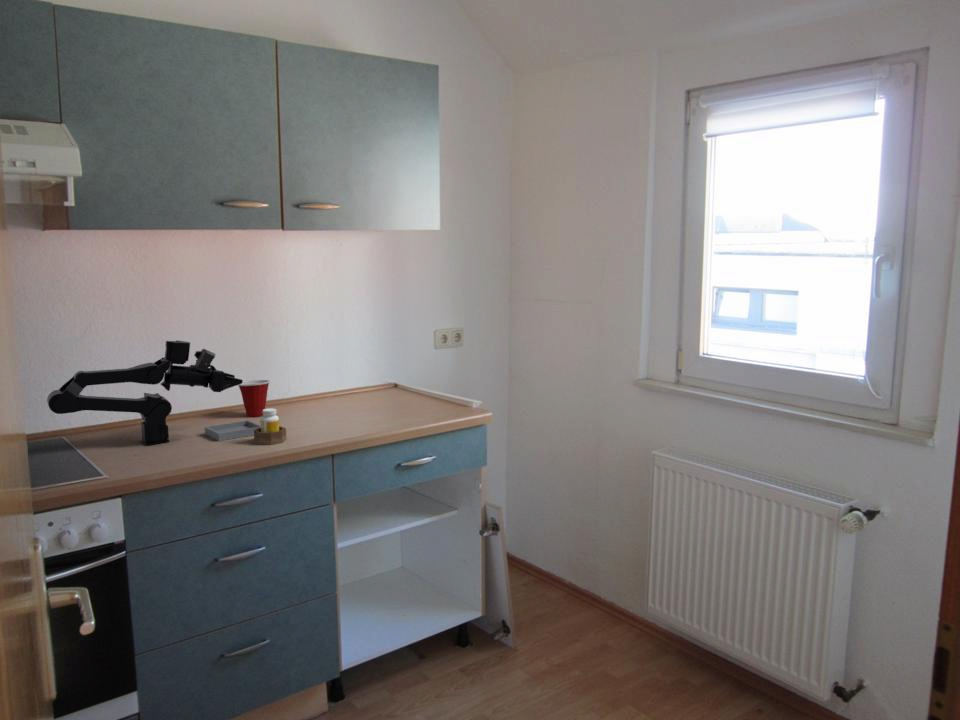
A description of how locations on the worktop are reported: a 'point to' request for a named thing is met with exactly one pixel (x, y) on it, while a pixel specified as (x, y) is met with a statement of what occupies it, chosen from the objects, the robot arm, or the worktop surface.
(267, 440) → the cup holder
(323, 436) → the worktop surface
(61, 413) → the robot arm
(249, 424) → the tray
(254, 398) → the plastic cup
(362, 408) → the worktop surface
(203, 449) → the worktop surface
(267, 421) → the supplement bottle
